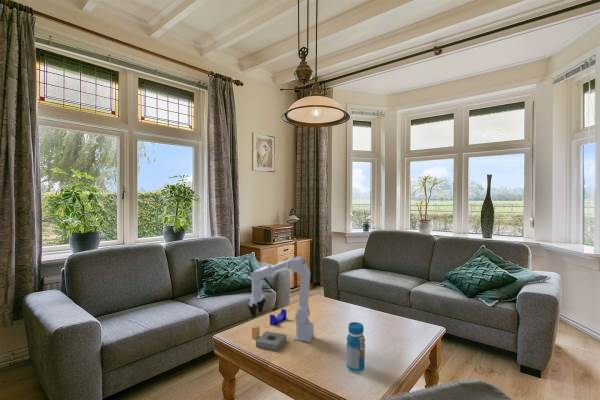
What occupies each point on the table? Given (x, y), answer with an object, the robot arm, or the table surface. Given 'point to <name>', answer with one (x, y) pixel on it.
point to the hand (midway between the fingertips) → (257, 314)
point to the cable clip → (278, 317)
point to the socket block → (271, 340)
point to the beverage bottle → (355, 348)
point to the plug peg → (255, 332)
